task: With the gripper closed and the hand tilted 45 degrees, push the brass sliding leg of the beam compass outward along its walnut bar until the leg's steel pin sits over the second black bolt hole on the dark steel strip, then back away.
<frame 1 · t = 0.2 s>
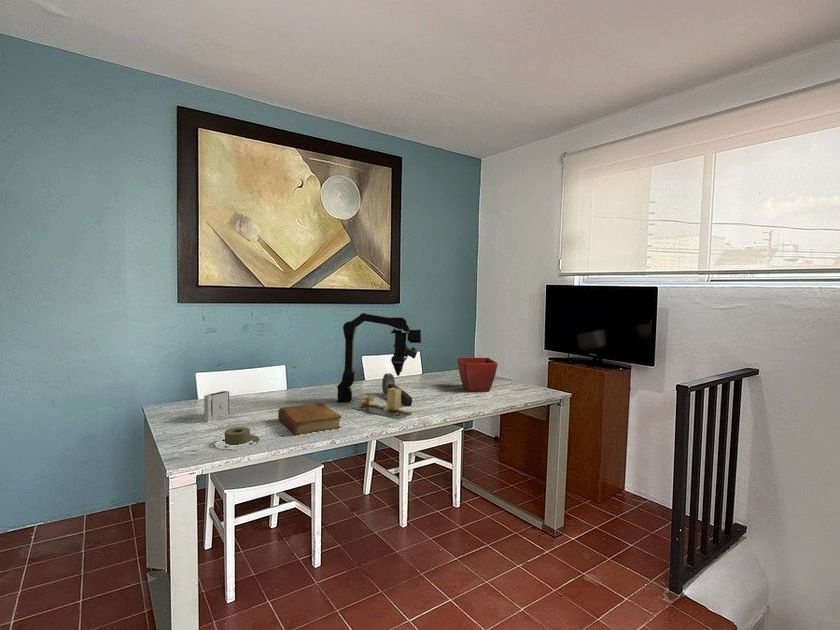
hand: (399, 373, 220), 14 cm above the table, tool pointing down, fingers open, 9 cm apart
hammer: (396, 400, 226), on the table
diary: (309, 425, 182), on the table
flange: (237, 444, 159), on the table
sliding leg: (390, 400, 202), point 6 cm above the table, slide at 0.0 cm
plant pot: (476, 389, 255), on the table
bolt strip: (379, 412, 203), on the table
trammel bar: (386, 409, 207), on the table
grey rectangular block: (215, 418, 188), on the table
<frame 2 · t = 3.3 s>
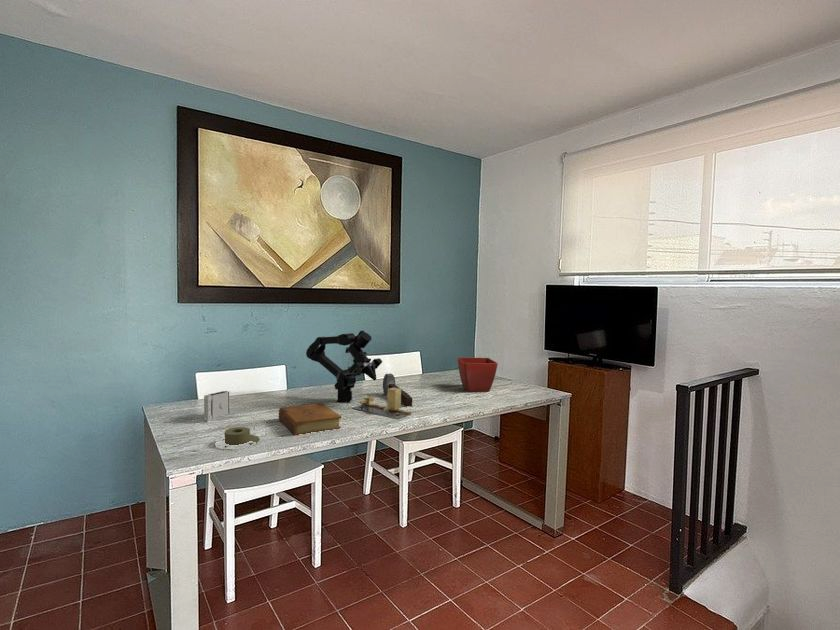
hand: (375, 379, 210), 13 cm above the table, tool tilted 45°, fingers closed
nothing on the table moved.
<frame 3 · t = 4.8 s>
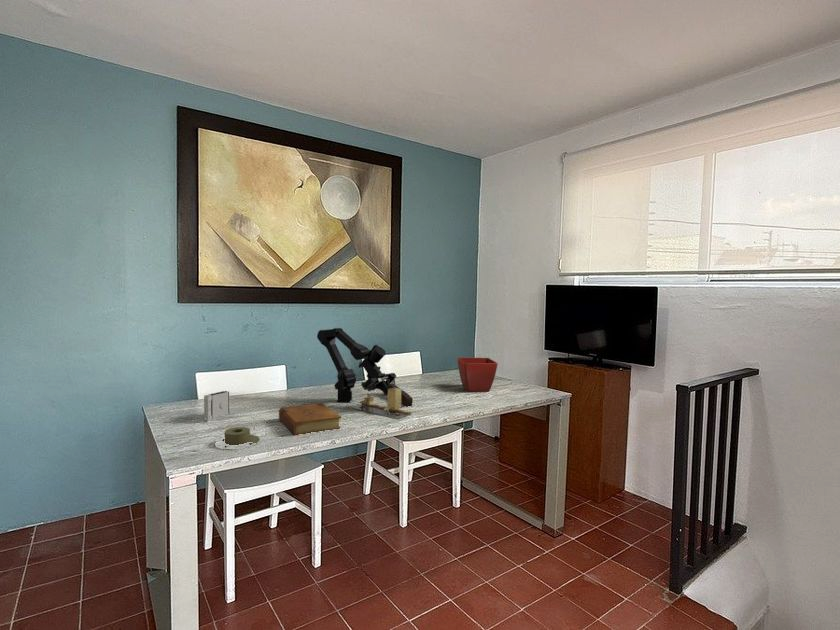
hand: (390, 395, 205), 7 cm above the table, tool tilted 45°, fingers closed, pressing on sliding leg
sliding leg: (391, 400, 202), point 6 cm above the table, slide at 0.1 cm, touching gripper
everything else where it was.
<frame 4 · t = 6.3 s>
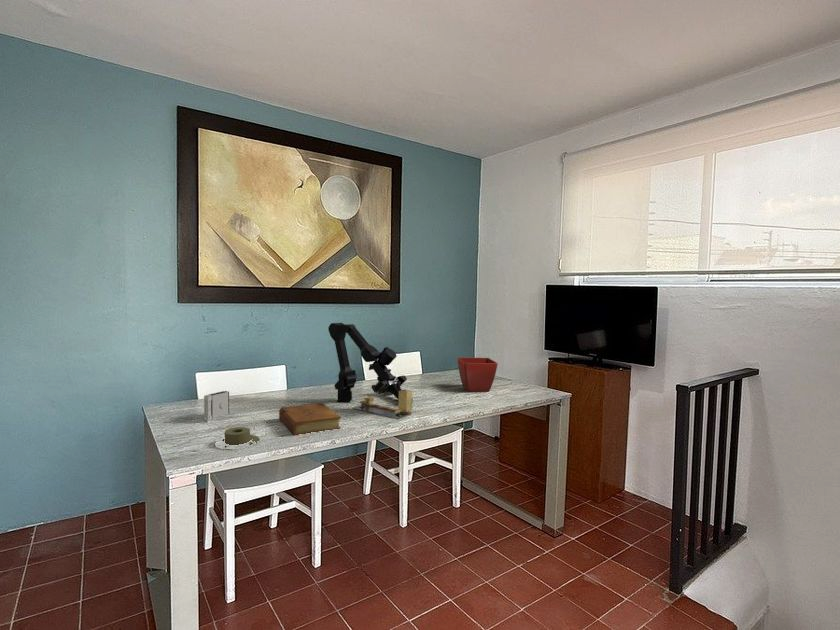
hand: (400, 398, 202), 7 cm above the table, tool tilted 45°, fingers closed
sliding leg: (402, 402, 198), point 6 cm above the table, slide at 6.3 cm
everything else where it was.
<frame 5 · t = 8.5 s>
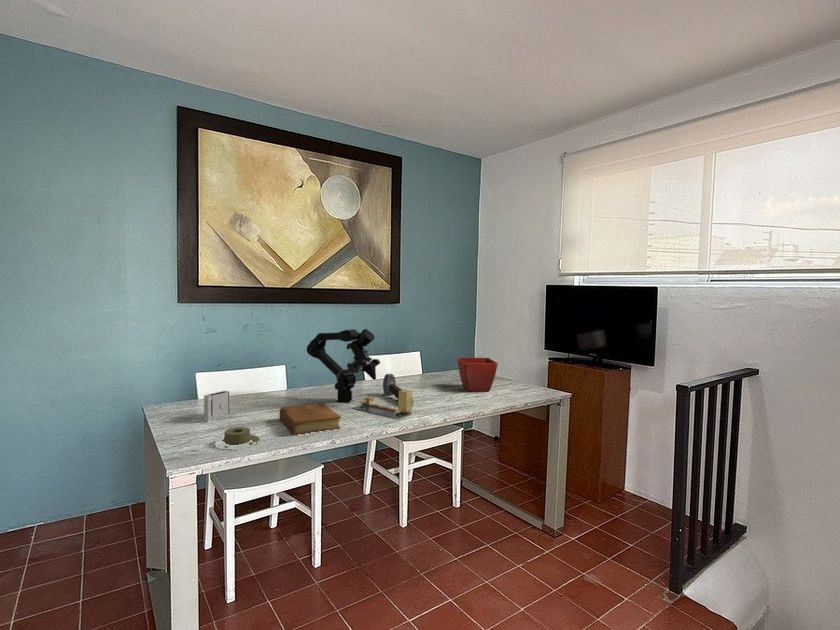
hand: (374, 379, 211), 13 cm above the table, tool tilted 40°, fingers closed
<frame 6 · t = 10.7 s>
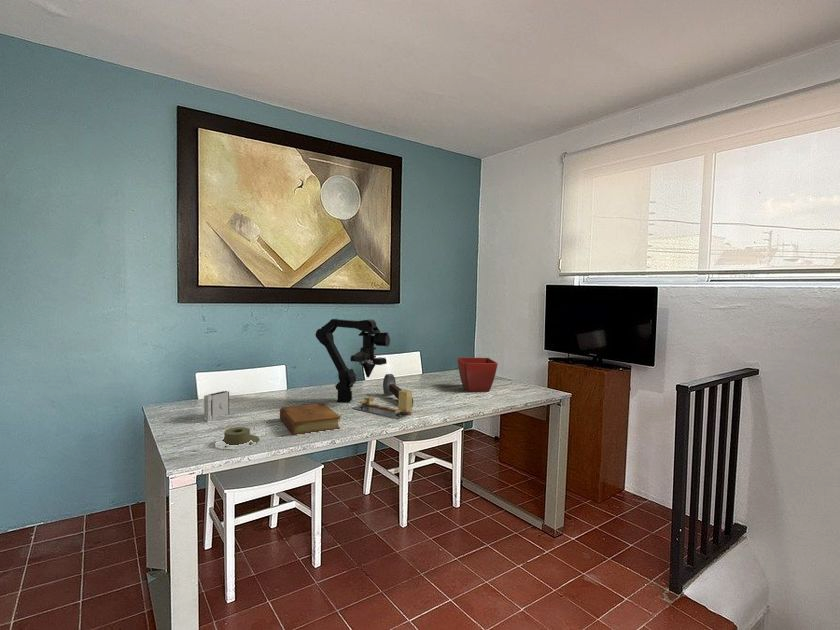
hand: (367, 377, 217), 13 cm above the table, tool pointing down, fingers closed
at the end: sliding leg slide at 6.3 cm; the gripper is holding nothing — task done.
